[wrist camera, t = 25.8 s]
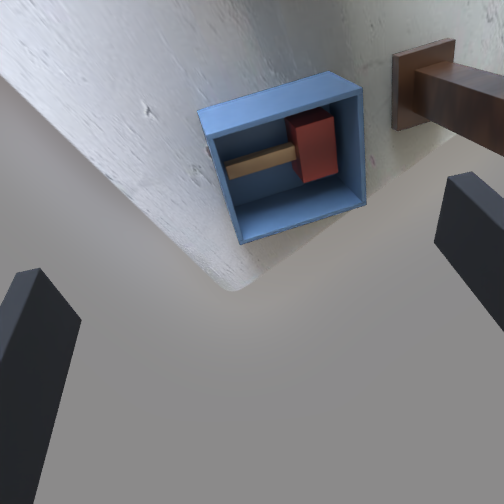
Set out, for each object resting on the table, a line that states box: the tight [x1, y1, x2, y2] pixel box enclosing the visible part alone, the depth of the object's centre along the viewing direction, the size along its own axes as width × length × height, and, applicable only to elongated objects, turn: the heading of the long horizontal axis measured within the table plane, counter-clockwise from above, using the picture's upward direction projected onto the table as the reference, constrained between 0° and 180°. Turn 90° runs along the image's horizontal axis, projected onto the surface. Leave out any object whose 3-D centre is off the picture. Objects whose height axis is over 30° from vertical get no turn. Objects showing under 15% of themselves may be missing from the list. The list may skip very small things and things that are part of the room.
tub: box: [197, 71, 367, 245], centre depth 43 cm, size 14×16×9 cm
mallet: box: [224, 107, 338, 183], centre depth 44 cm, size 7×13×4 cm, turn 103°
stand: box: [392, 38, 504, 157], centre depth 35 cm, size 10×7×28 cm
